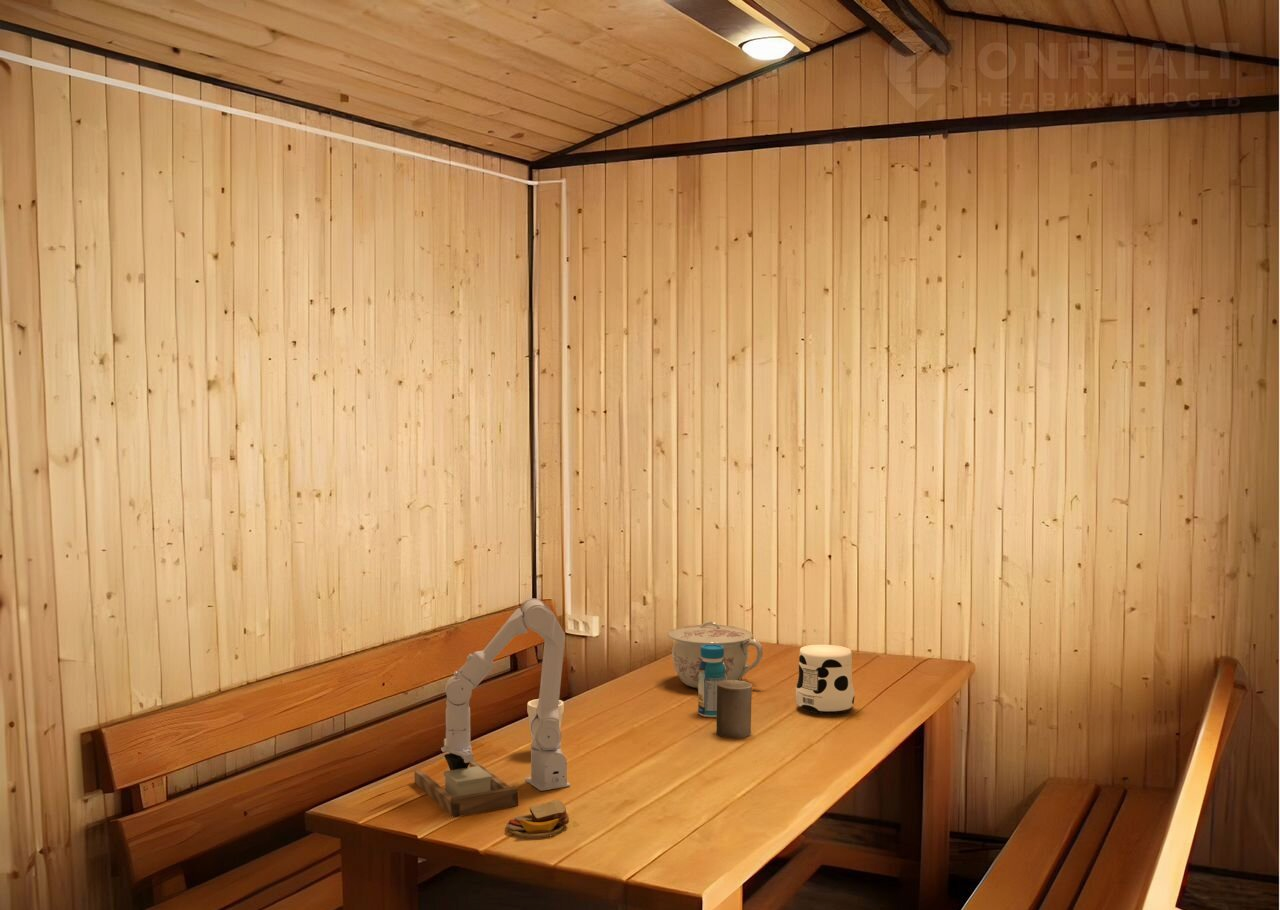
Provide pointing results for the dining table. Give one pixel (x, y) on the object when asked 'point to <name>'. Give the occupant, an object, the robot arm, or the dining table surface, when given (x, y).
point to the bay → (470, 795)
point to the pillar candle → (734, 708)
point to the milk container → (825, 679)
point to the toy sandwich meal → (540, 820)
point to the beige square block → (467, 781)
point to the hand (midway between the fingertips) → (458, 784)
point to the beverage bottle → (710, 678)
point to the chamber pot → (729, 637)
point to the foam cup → (532, 712)
